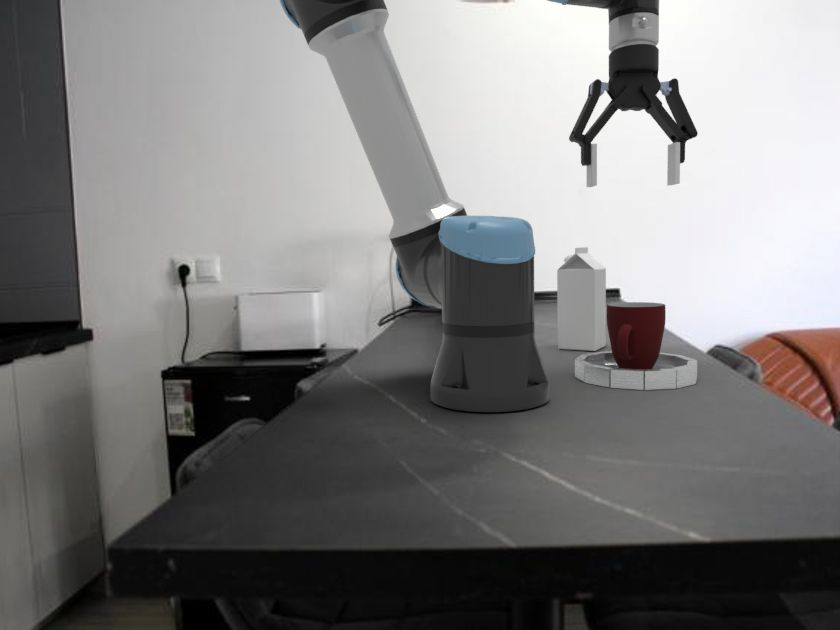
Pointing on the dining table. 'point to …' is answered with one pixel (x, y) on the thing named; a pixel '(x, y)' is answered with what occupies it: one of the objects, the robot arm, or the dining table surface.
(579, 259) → the milk carton
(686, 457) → the dining table surface
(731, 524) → the dining table surface
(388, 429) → the dining table surface
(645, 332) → the mug
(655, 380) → the round white tray
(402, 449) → the dining table surface
